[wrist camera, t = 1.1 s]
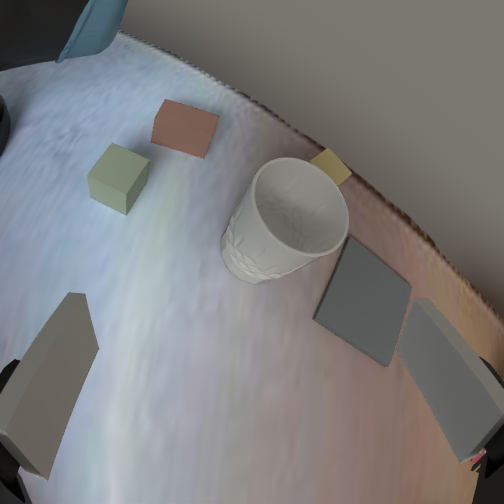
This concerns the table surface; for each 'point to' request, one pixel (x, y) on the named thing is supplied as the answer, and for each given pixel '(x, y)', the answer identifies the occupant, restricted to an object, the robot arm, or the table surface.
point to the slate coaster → (364, 302)
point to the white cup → (284, 221)
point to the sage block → (118, 178)
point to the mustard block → (331, 166)
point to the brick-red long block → (184, 128)
